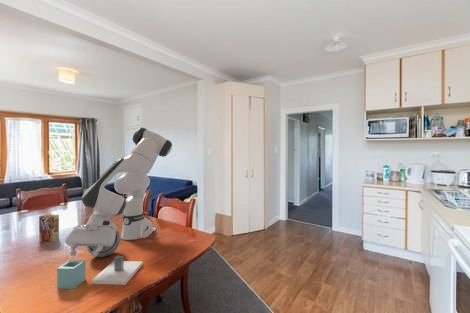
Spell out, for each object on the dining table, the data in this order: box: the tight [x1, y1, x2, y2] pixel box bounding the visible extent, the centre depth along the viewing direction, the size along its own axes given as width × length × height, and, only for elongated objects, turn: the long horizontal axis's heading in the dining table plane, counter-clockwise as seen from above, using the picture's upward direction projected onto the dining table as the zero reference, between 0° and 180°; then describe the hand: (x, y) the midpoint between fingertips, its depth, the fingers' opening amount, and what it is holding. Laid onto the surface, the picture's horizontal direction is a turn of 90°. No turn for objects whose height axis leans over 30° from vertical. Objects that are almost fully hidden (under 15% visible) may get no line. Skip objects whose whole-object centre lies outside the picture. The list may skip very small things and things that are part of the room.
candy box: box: [38, 214, 60, 243], centre depth 133 cm, size 9×4×15 cm, turn 89°
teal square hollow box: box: [56, 259, 87, 290], centre depth 90 cm, size 7×7×8 cm
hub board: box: [90, 260, 144, 286], centre depth 98 cm, size 16×14×2 cm
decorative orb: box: [86, 230, 121, 258], centre depth 115 cm, size 15×14×15 cm
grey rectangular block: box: [113, 255, 125, 271], centre depth 98 cm, size 2×3×6 cm, turn 88°
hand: (82, 255), depth 95 cm, fingers open, 8 cm apart
